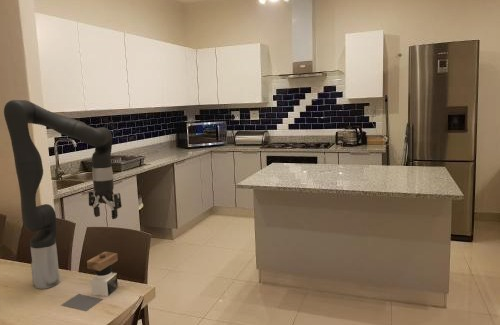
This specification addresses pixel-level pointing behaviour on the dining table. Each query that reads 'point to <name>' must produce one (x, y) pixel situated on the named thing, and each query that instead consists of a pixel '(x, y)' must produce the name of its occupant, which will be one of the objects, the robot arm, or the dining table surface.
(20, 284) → the dining table surface
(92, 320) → the dining table surface
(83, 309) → the mat
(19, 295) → the dining table surface
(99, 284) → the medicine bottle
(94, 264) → the lid
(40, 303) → the dining table surface
